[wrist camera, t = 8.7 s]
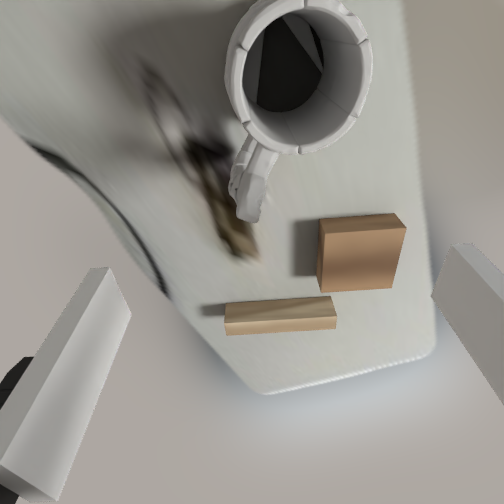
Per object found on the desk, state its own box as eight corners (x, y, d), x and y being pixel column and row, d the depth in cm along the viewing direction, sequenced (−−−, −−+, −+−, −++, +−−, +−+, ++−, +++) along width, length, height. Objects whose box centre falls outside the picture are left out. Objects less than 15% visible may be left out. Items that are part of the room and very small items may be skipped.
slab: (318, 217, 29) (325, 233, 26) (393, 211, 29) (406, 227, 26) (315, 273, 33) (321, 292, 31) (380, 269, 33) (391, 288, 30)
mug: (358, 31, 20) (460, 27, 11) (279, 184, 27) (297, 270, 17) (254, -31, 18) (261, -106, 9) (195, 149, 25) (161, 223, 15)
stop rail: (225, 303, 35) (224, 323, 32) (330, 296, 34) (337, 316, 32) (228, 315, 36) (226, 335, 34) (329, 308, 36) (335, 328, 33)
